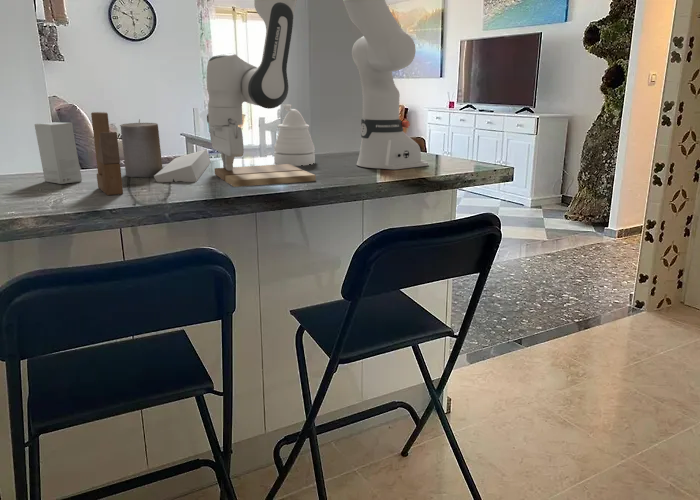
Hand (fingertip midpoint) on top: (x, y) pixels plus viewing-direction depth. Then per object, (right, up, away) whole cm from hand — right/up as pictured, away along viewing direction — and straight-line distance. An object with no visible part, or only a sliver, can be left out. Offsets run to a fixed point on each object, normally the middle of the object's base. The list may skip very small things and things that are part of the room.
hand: (228, 169), depth 158 cm
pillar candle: (-24, -1, +2) cm, 24 cm away
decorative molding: (-14, 0, +8) cm, 16 cm away
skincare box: (-40, -5, -10) cm, 42 cm away
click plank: (+8, -1, +3) cm, 8 cm away
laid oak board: (+13, -4, -6) cm, 15 cm away
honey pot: (+16, +6, +27) cm, 31 cm away
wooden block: (-23, -8, -21) cm, 32 cm away
